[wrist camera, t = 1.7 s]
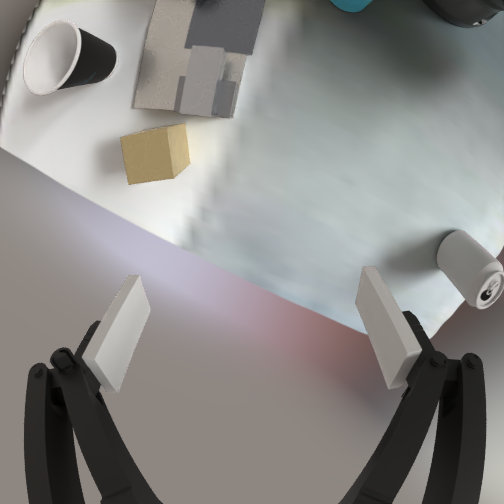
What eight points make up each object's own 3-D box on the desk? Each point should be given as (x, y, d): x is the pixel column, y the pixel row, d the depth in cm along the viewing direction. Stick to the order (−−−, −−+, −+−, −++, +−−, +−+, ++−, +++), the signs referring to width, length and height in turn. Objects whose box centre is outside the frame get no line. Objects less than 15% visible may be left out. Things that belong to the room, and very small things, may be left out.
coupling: (146, 130, 29) (120, 137, 23) (185, 123, 29) (167, 127, 23) (151, 168, 32) (128, 184, 25) (190, 163, 31) (174, 178, 25)
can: (426, 262, 37) (464, 310, 27) (448, 221, 34) (495, 262, 23) (453, 272, 38) (488, 316, 28) (473, 235, 35) (515, 274, 24)
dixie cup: (105, 26, 21) (54, 9, 12) (141, 54, 24) (94, 39, 15) (69, 73, 24) (13, 74, 15) (102, 103, 27) (47, 110, 17)
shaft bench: (168, -46, 16) (154, -65, 11) (276, -42, 17) (280, -64, 12) (129, 107, 27) (105, 109, 22) (238, 118, 29) (234, 120, 23)
